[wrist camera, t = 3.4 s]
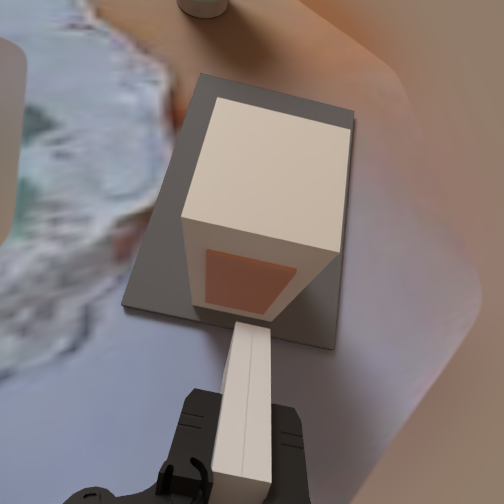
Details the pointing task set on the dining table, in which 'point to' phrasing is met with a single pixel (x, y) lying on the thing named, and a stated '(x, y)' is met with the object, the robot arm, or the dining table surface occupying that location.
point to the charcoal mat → (171, 233)
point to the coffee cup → (203, 7)
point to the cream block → (263, 208)
